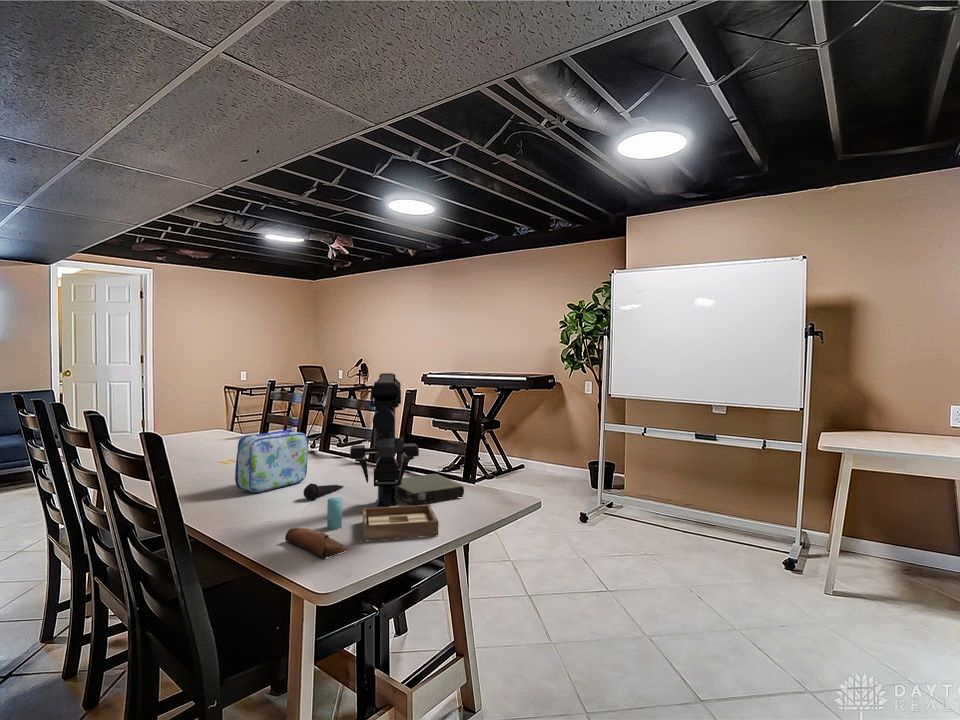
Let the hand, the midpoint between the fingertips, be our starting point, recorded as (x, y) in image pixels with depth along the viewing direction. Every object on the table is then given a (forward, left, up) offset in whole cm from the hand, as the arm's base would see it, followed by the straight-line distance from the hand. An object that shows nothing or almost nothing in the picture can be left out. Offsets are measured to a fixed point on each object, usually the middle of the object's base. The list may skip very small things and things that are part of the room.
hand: (384, 481), depth 140 cm
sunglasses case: (+8, -17, -15) cm, 24 cm away
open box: (-1, +4, -14) cm, 15 cm away
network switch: (-35, +16, -15) cm, 41 cm away
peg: (-6, -14, -14) cm, 20 cm away
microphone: (-42, -18, -15) cm, 48 cm away
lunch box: (-57, -38, -14) cm, 70 cm away
